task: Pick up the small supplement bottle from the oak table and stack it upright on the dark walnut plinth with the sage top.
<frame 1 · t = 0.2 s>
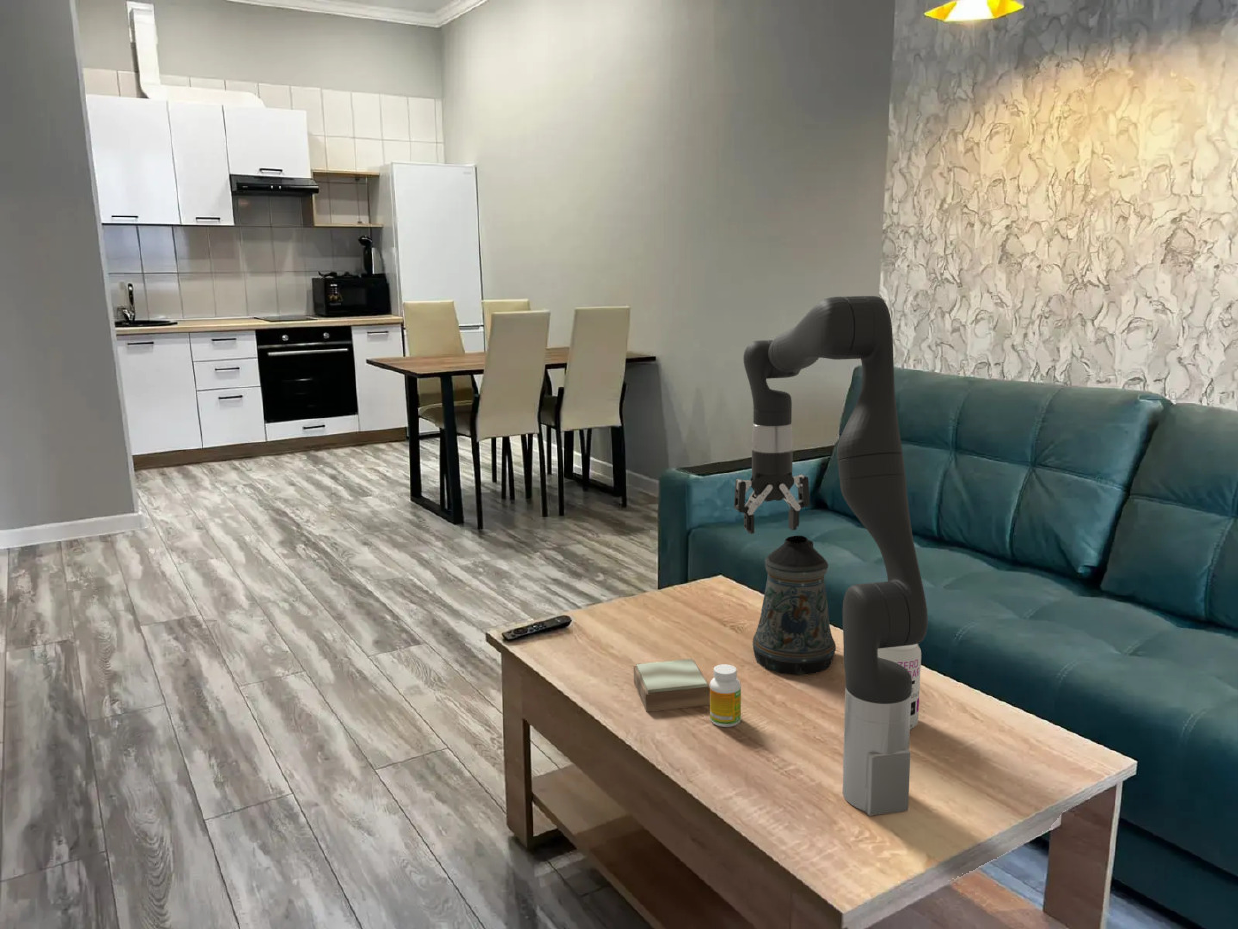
hand: (771, 530, 167), 29 cm above the table, fingers open, 8 cm apart
plinth: (671, 693, 165), on the table
supplement bottle: (725, 721, 154), on the table
painted ceramic vase: (792, 656, 180), on the table
supplement can: (892, 723, 152), on the table
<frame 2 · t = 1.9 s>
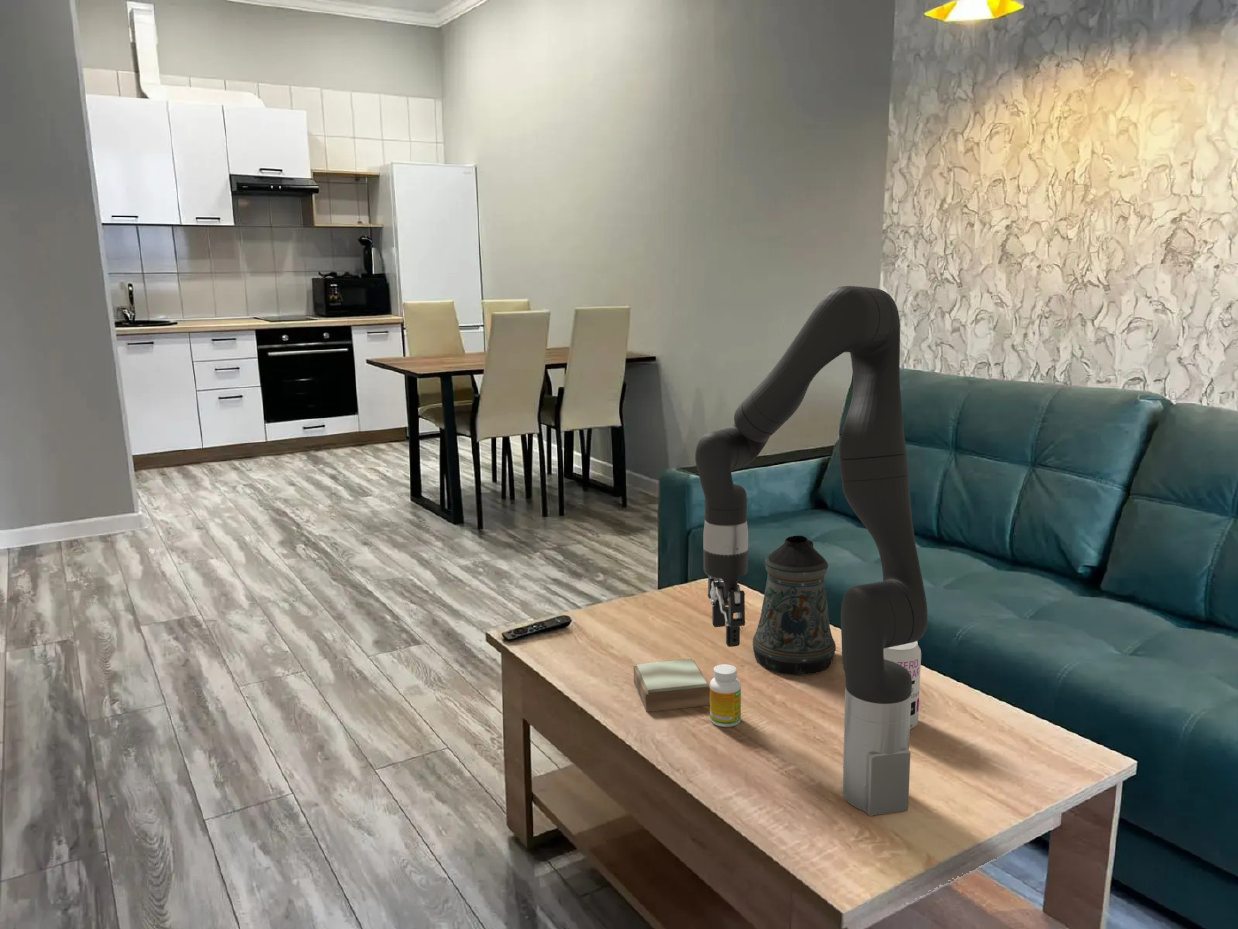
hand: (725, 635, 151), 16 cm above the table, fingers open, 8 cm apart
nothing on the table moved.
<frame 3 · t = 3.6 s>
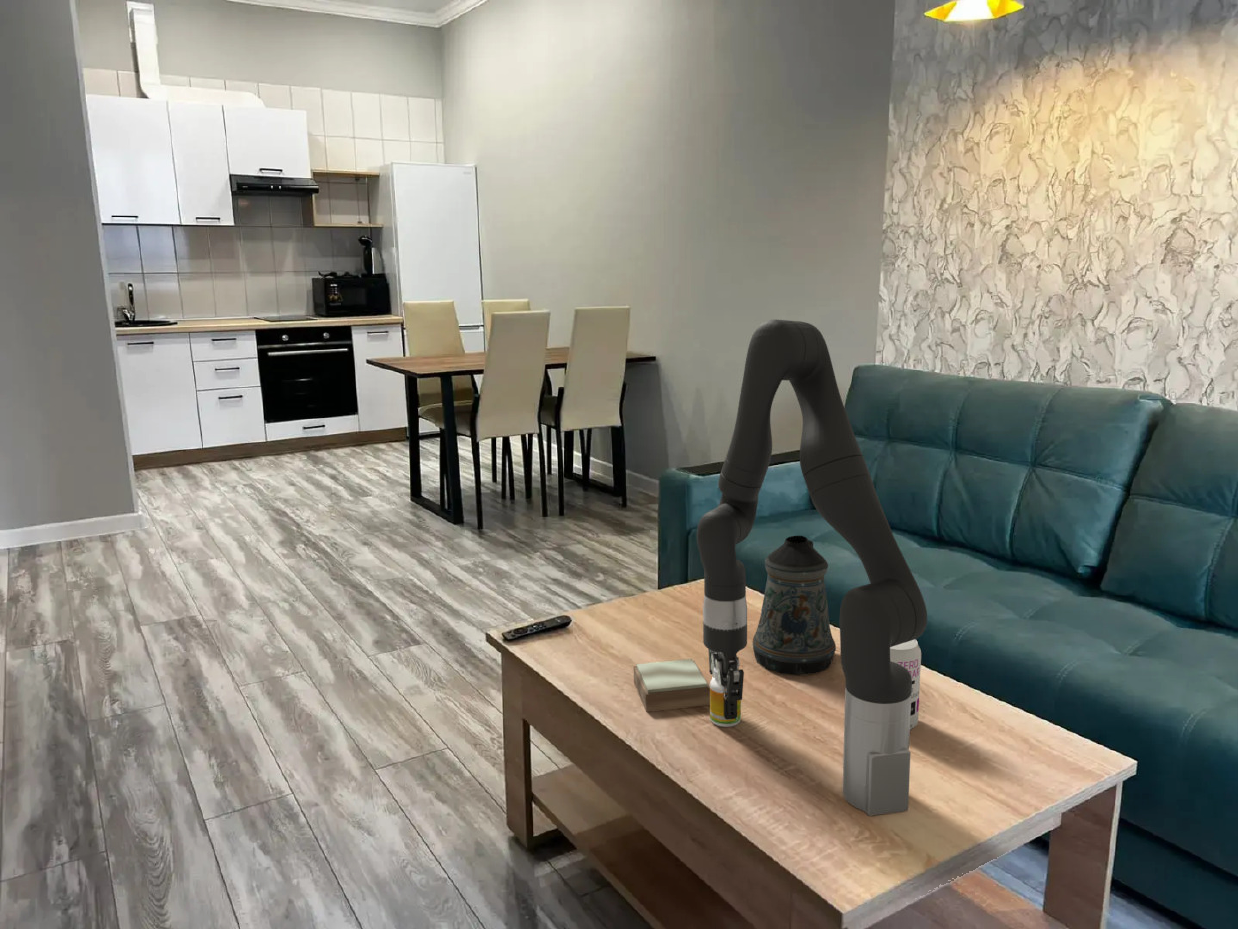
hand: (725, 709, 154), 2 cm above the table, fingers closed on supplement bottle, 5 cm apart
supplement bottle: (725, 721, 154), on the table, touching gripper
everything else where it was.
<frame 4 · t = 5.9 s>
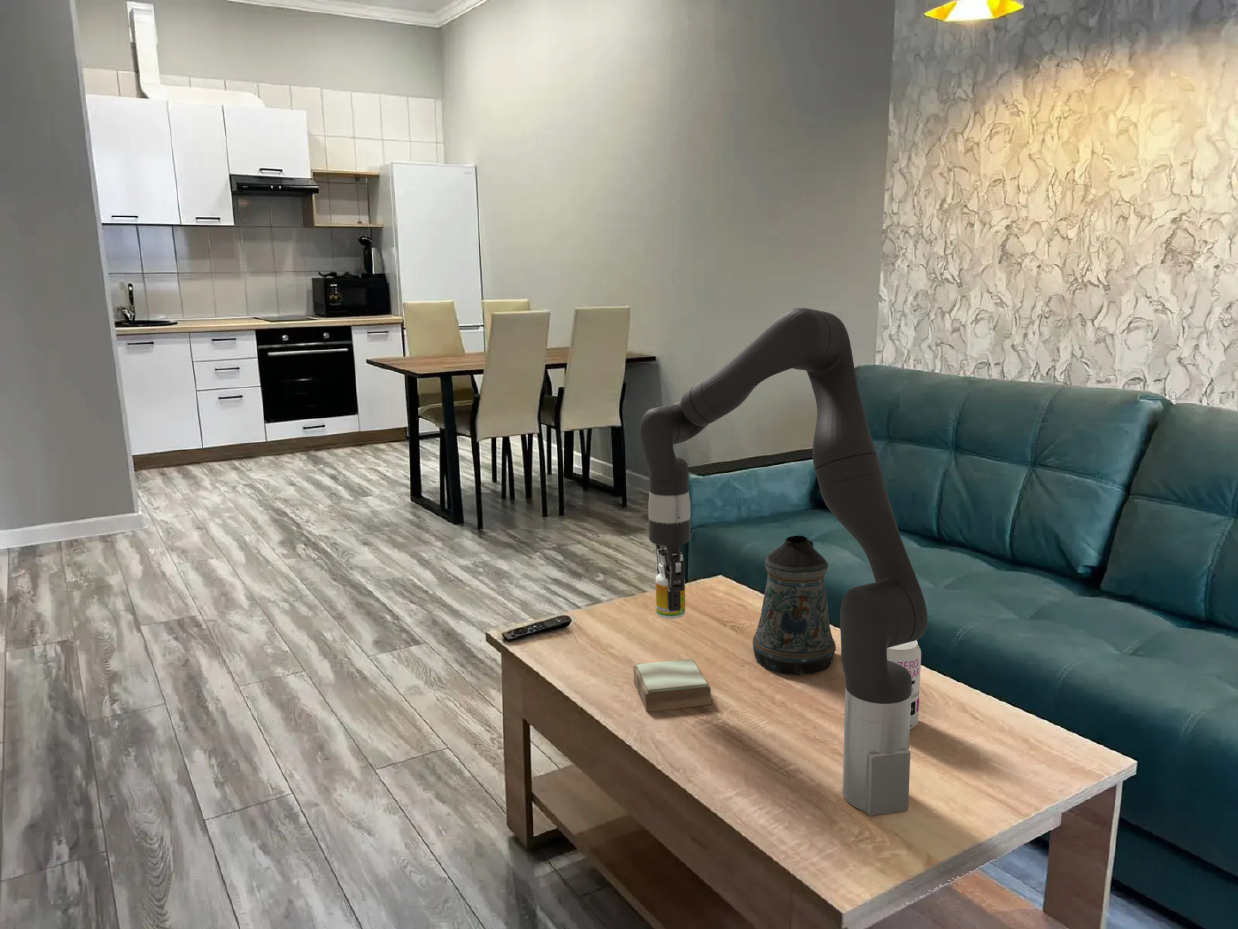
hand: (670, 603, 161), 18 cm above the table, fingers closed on supplement bottle, 5 cm apart
supplement bottle: (670, 615, 162), point 16 cm above the table, touching gripper
everything else where it was.
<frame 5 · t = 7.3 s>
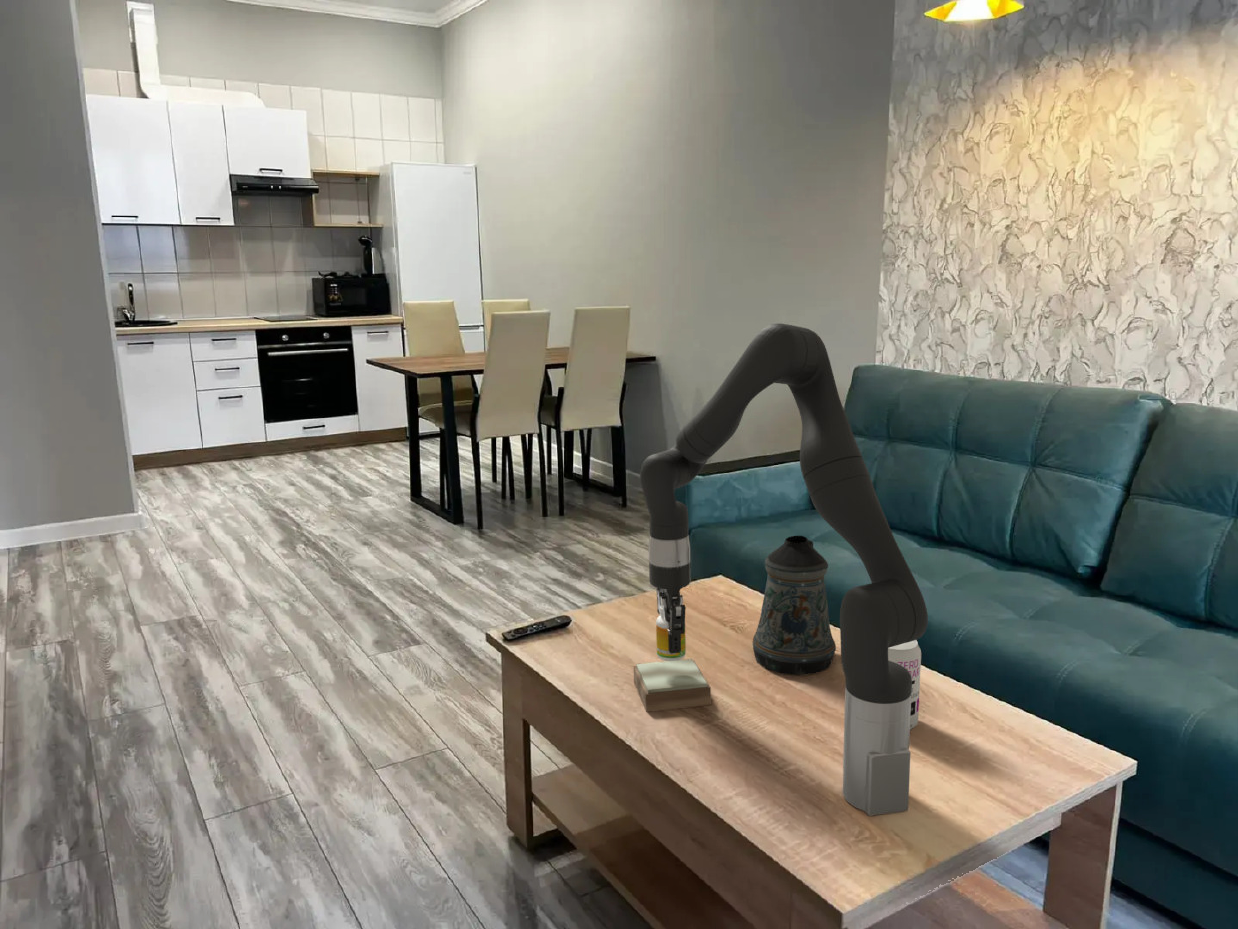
hand: (671, 645, 163), 10 cm above the table, fingers closed on supplement bottle, 5 cm apart
supplement bottle: (671, 656, 163), point 7 cm above the table, touching gripper
everything else where it was.
when the fingers open (7 cm above the table, at t = 8.3 s): supplement bottle stays where it is, resting on plinth.
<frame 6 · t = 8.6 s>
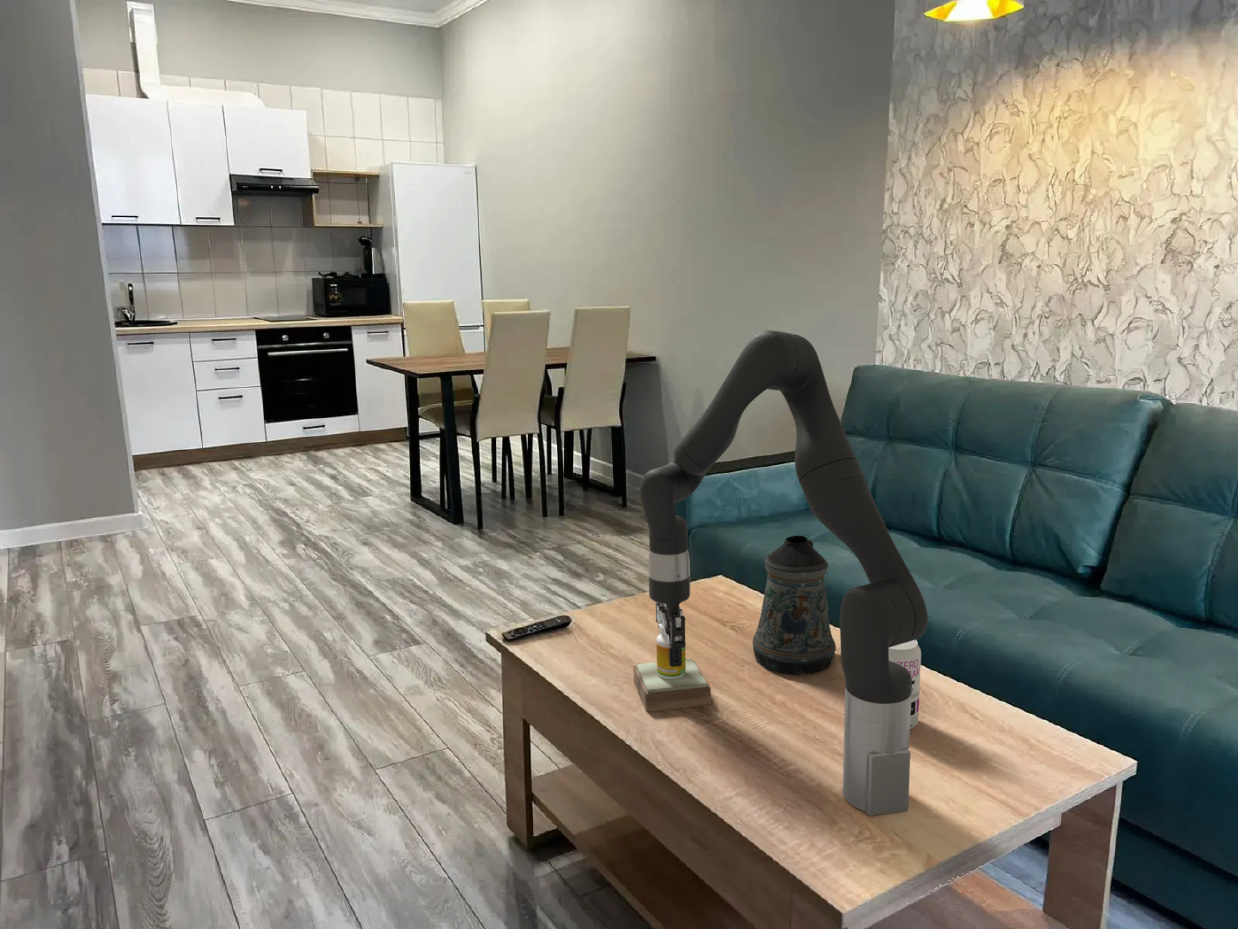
hand: (670, 656, 163), 7 cm above the table, fingers open, 7 cm apart
supplement bottle: (671, 675, 164), point 4 cm above the table, touching plinth
everything else where it was.
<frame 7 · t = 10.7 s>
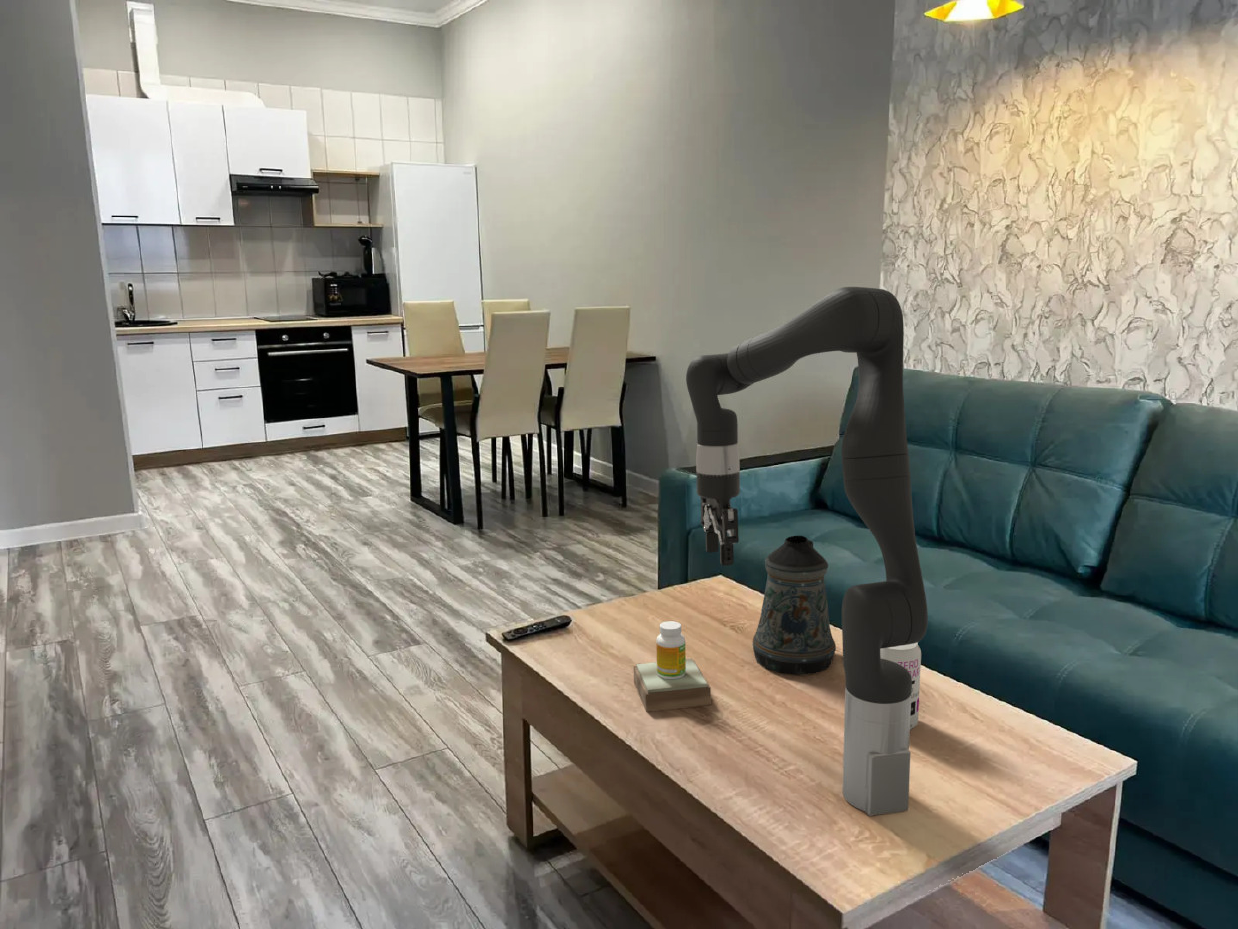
hand: (719, 558, 156), 27 cm above the table, fingers open, 8 cm apart
nothing on the table moved.
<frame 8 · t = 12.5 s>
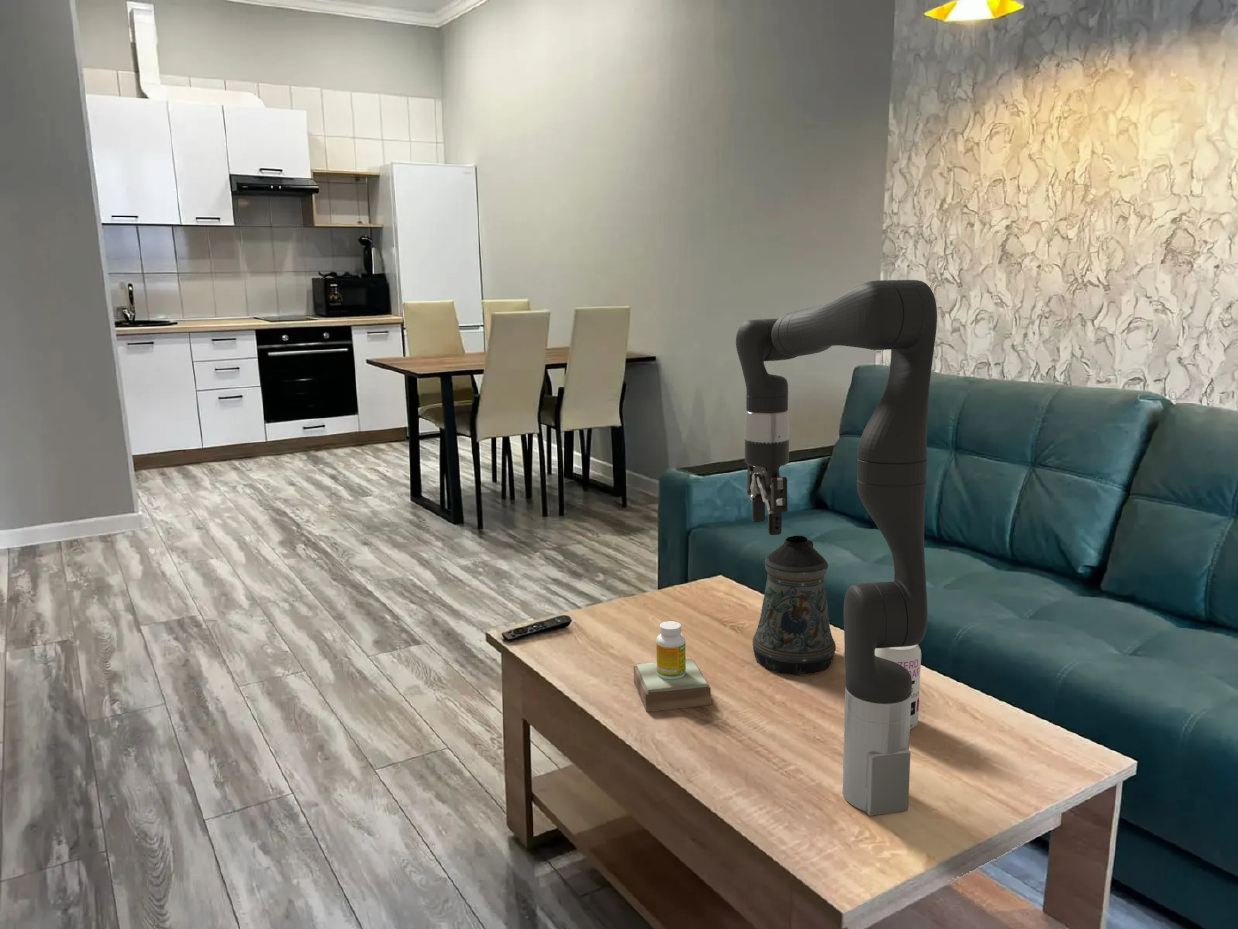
hand: (766, 527, 154), 33 cm above the table, fingers open, 8 cm apart
nothing on the table moved.
at the end: supplement bottle inside the target area on the plinth (0.1 cm from its centre), point 3.8 cm above the plinth's base; supplement bottle tilted 0°; the gripper is holding nothing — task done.
